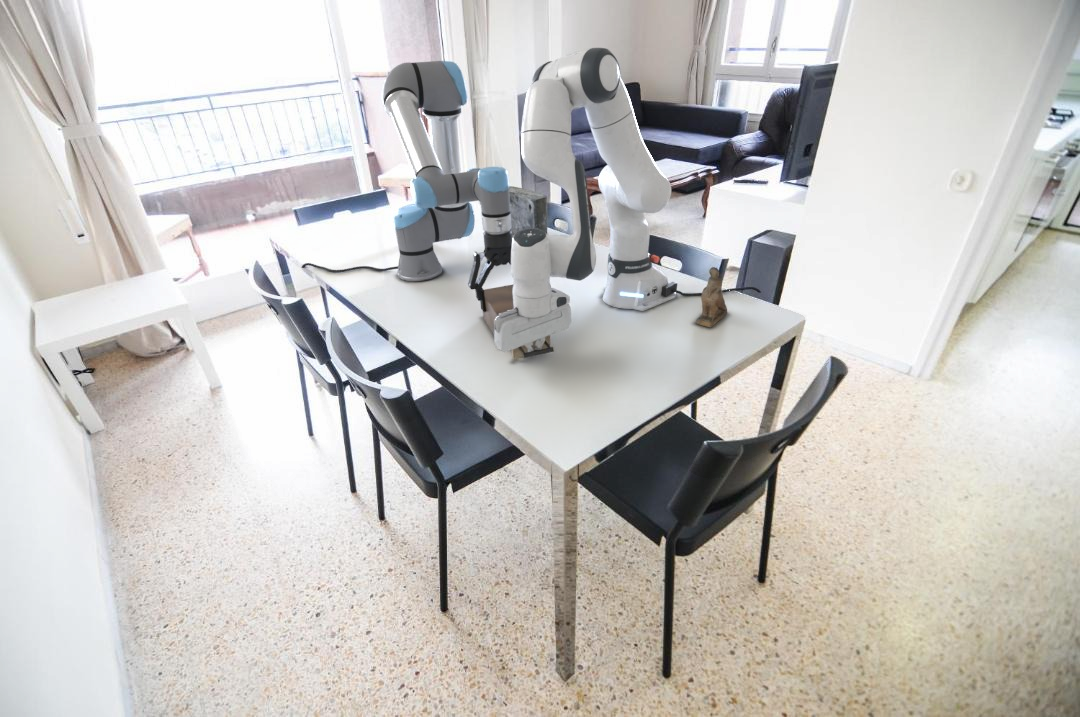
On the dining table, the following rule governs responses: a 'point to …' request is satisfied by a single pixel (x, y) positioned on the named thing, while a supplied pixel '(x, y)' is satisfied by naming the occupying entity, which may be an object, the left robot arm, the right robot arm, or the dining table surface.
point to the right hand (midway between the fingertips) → (534, 354)
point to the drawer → (523, 351)
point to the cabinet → (497, 303)
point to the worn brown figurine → (712, 301)
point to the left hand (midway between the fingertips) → (503, 306)
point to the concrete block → (527, 210)
